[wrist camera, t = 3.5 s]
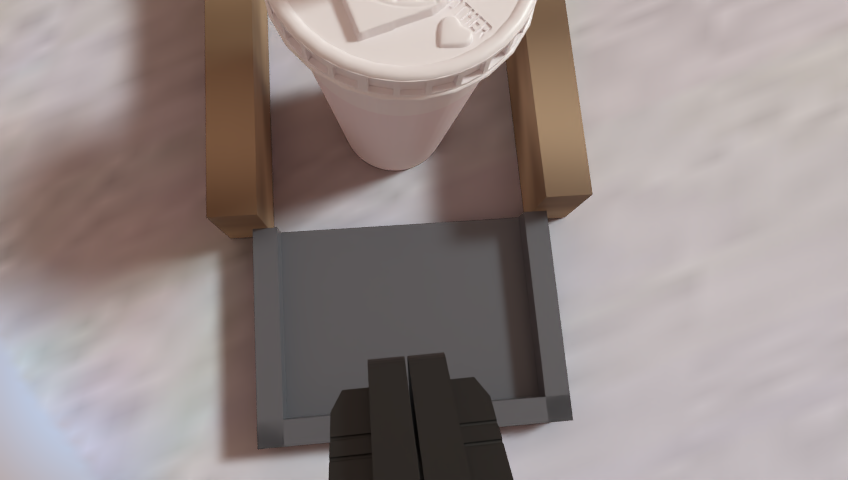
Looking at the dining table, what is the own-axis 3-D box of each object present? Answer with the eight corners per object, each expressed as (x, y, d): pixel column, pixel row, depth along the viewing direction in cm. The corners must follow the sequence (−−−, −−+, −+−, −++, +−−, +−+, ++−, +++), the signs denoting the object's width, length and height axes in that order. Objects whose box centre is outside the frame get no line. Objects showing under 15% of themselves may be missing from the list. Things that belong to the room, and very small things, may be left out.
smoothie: (277, 165, 22) (103, -175, 8) (349, 19, 23) (303, -479, 10) (441, 233, 22) (542, 4, 8) (504, 83, 23) (680, -330, 9)
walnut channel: (564, 217, 22) (592, 194, 19) (230, 238, 21) (206, 217, 18) (527, -68, 25) (546, -128, 22) (226, -62, 24) (203, -123, 21)
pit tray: (561, 417, 21) (573, 420, 19) (265, 444, 20) (257, 449, 19) (537, 218, 22) (546, 210, 21) (259, 236, 21) (252, 228, 20)
